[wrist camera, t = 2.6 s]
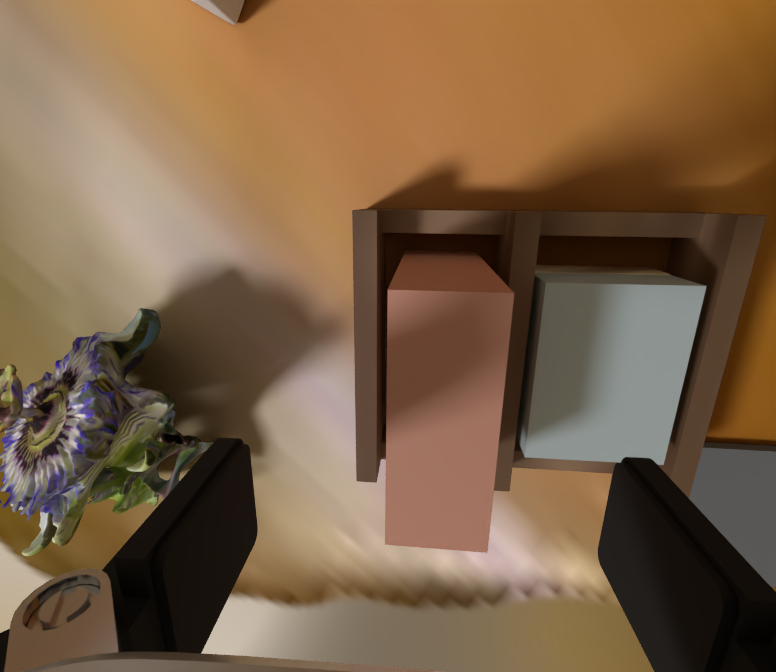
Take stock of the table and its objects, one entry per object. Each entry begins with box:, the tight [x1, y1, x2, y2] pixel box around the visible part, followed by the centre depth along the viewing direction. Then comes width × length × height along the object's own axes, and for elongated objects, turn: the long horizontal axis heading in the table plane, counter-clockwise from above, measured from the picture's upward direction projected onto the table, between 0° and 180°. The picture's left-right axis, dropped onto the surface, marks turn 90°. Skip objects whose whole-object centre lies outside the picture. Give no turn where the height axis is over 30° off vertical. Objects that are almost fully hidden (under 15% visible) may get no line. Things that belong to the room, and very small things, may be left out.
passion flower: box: [0, 308, 214, 556], centre depth 22 cm, size 11×11×12 cm
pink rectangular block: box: [385, 250, 514, 553], centre depth 18 cm, size 4×9×10 cm, turn 179°
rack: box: [352, 209, 767, 498], centre depth 20 cm, size 16×13×4 cm
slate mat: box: [689, 442, 776, 587], centre depth 24 cm, size 12×9×1 cm
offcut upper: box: [516, 273, 707, 465], centre depth 19 cm, size 6×8×2 cm
